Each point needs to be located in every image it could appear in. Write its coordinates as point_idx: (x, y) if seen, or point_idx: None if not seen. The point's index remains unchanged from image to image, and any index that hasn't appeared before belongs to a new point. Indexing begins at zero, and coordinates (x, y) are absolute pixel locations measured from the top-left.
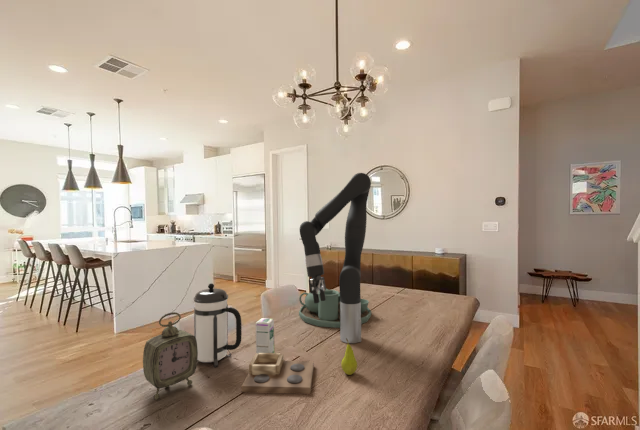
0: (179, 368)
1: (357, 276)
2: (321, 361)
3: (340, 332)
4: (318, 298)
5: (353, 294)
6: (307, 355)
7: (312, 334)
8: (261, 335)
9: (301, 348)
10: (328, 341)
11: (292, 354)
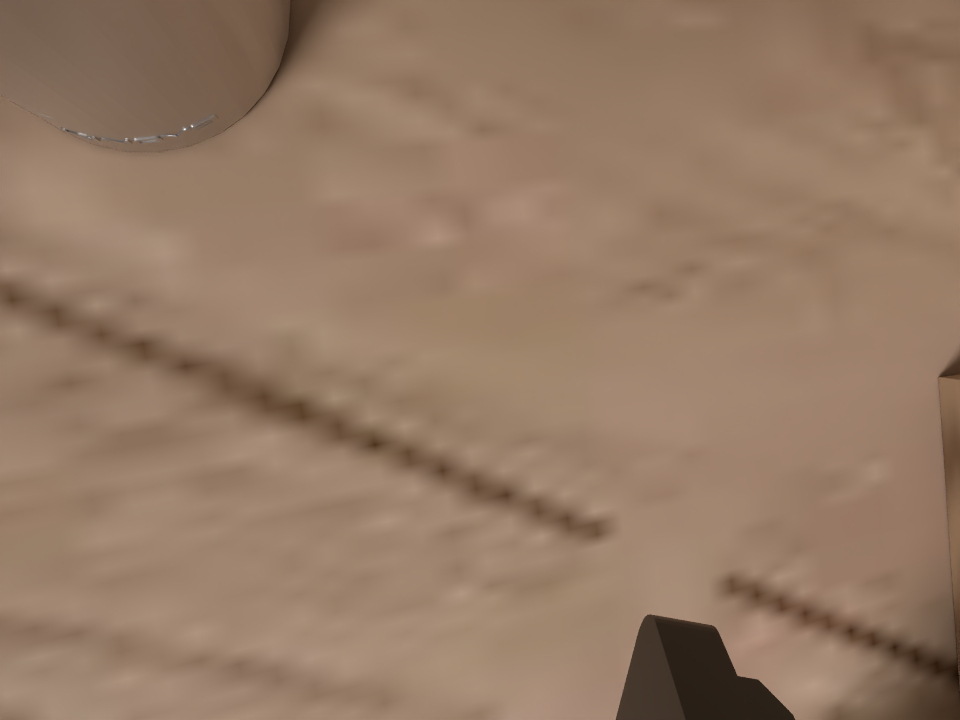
0: None
1: None
2: (822, 316)
3: (159, 125)
4: (751, 716)
5: None
6: (704, 497)
7: (37, 583)
8: None
9: (533, 612)
10: (260, 313)
11: None
